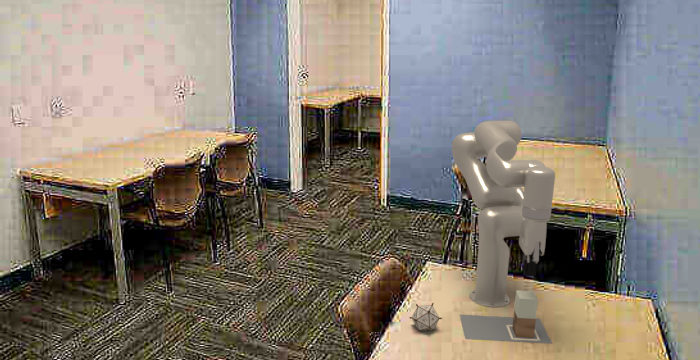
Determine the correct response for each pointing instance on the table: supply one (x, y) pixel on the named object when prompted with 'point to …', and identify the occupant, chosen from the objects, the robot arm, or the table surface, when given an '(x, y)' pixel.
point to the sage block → (526, 304)
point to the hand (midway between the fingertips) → (529, 274)
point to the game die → (425, 317)
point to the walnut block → (523, 327)
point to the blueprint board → (499, 329)
